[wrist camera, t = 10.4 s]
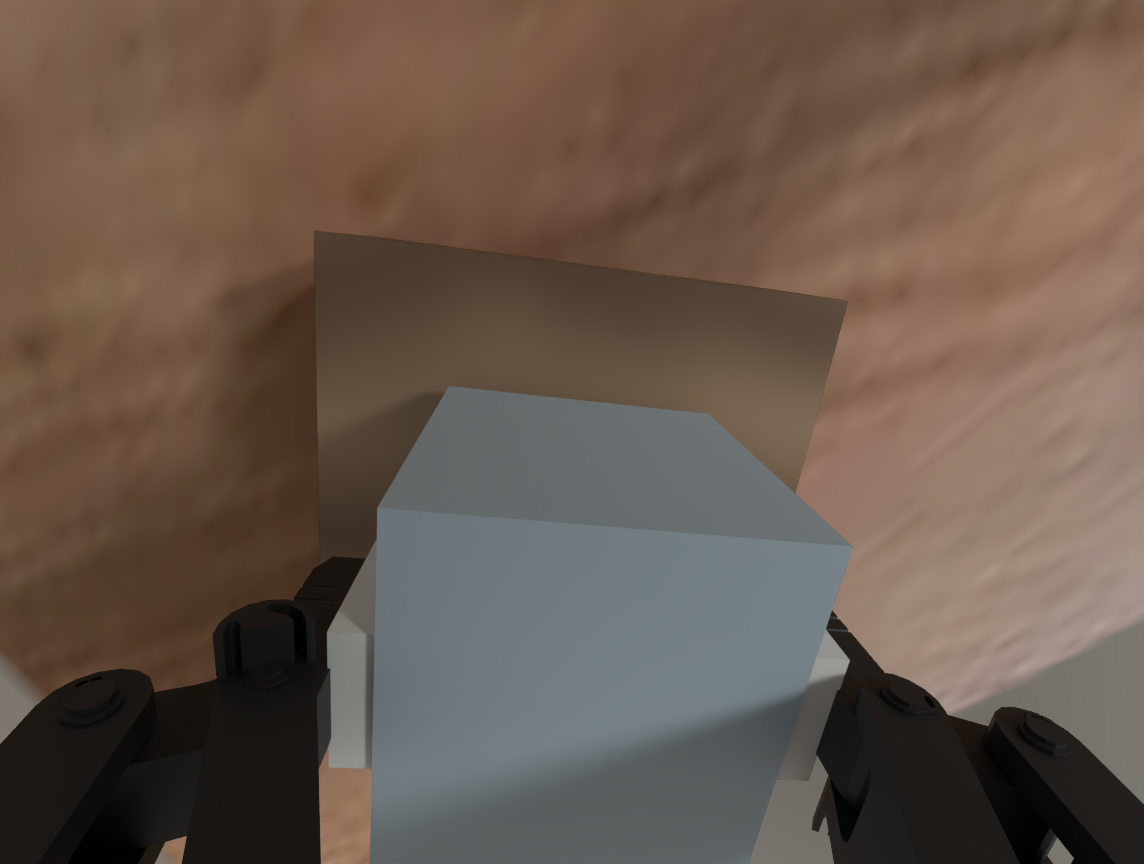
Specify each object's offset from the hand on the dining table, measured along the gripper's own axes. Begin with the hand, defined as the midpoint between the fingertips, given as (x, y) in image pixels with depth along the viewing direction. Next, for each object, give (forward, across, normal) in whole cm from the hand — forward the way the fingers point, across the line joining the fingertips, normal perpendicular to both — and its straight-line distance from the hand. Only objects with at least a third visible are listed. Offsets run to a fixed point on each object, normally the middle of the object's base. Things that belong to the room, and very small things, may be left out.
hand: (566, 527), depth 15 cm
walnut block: (+6, 0, 0) cm, 6 cm away
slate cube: (0, 0, 0) cm, 0 cm away
